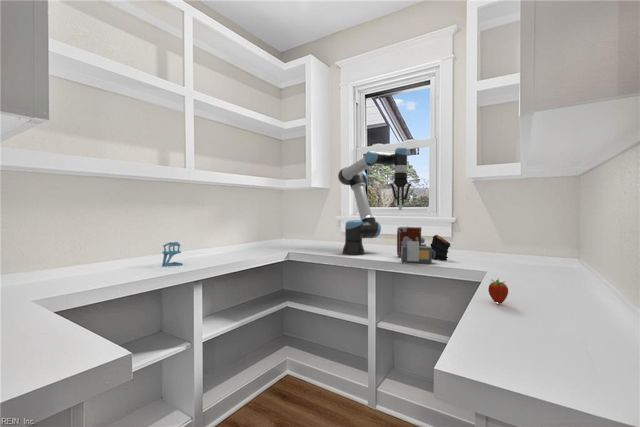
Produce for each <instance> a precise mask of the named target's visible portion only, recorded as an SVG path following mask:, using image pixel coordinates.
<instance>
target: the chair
mask: <svg viewBox="0 0 640 427" xmlns="http://www.w3.org/2000/svg"><path fill="white" fill-rule="evenodd" d="M162 246H163V251H162V254H163V260H162V264H161V266H162V267H174V266H175V267H176V266H183V265H184V263H182V262H179V261H173V262H172V261H171V259H172V258H173V257H174V255H178V254H181V253H182V251H181V250H180V249H181V248H180V247H181V244H180V243H179V242H178V241H175V242H167V243H166V244H163V245H162ZM166 247H168V251H167V248H166ZM175 247H177V250H175V249H176V248H175ZM171 248H172V249H171Z"/></svg>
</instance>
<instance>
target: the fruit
mask: <svg viewBox="0 0 640 427" xmlns="http://www.w3.org/2000/svg"><path fill="white" fill-rule="evenodd" d="M499 279H500V278H499V277H498V278H497V279H496V280H493V279H491V282H490V284H489V285H488V293H489V294H488V295H489V296H490V297H491V299H492V300H493V302H494V303H495V302H498V303H501V304H503V303H504V302H505V301H506V299H507V297H508V294H509V287H508V286H507V284H505V281H501V282H500V280H499Z"/></svg>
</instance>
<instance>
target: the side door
mask: <svg viewBox="0 0 640 427" xmlns="http://www.w3.org/2000/svg"><path fill="white" fill-rule="evenodd" d="M407 261H419V241H407Z"/></svg>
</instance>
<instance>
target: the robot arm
mask: <svg viewBox="0 0 640 427" xmlns="http://www.w3.org/2000/svg"><path fill="white" fill-rule="evenodd" d="M375 165H382V166H383V167H390V166H394V180H393V182H391V183H390V185H389V186H390V187H391V191H392V193H393V199H395V200H396V201H397V202H396V204H397V206H398V211H403V210H402V208H403V206H404V205H405V203H404V202H405V200H407V198H408V194H409V190H410V187H411V186H412V184H411V183H410V182H409V181H408V173H407V172H408V149H407V148H406V147H396V148H394V152H392V153H387V152H378V151H374V150H372V151H370V150H369V151H367V152H366V153H365V155H364V157H362V158H361V159H359V160H357V161H356V162H354V163H353V164H351V165H349V166H344V167H343V168H341V169H340V170H339V172H338V173H337V174H338V175H337V178H338V181H339V182H340V183H341V184H342V185H346V186H349V187H350V189H351V191H353V195H354V199H355V202H356V207H357V210H358V213H359V219H354V220H347V221H346V222H345V227H344V229H345V230H344V231H345V234H344V236H345V241H344V245H343V249H342V254H343V255H349V256H362V255H365V248H364V246H363V239H374V238H378V237H379V236H380V233H381V229H382V226H381V223H380V222H379V221H376V217H374V216H373V214H372V211H371V206H370V203H369V199H368V196H367V191H366V186H367V183H368V179H369V178H368V175H367V173H366V172H365V171H366V170H368V169H369V168H371V167H373V166H375ZM395 186H396V189H397V191H396V189H395ZM406 186H407V187H406ZM405 187H406V190H405ZM400 188H401V191H400ZM396 192H397V194H396ZM400 192H401V193H400ZM404 193H405V195H404ZM400 195H401V196H400ZM400 197H401V198H400Z"/></svg>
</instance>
